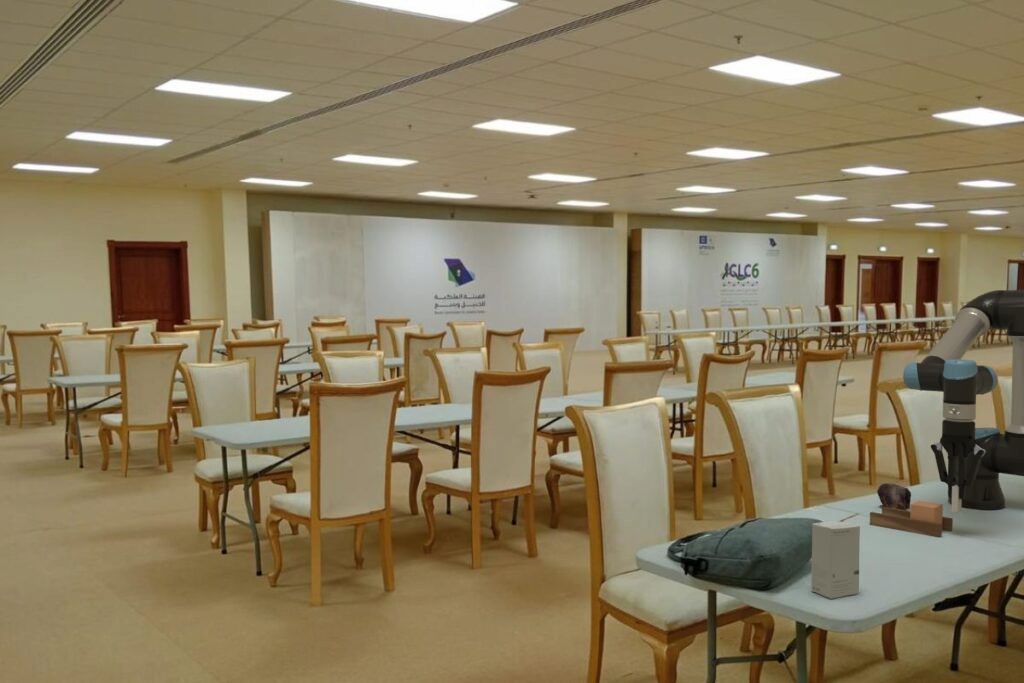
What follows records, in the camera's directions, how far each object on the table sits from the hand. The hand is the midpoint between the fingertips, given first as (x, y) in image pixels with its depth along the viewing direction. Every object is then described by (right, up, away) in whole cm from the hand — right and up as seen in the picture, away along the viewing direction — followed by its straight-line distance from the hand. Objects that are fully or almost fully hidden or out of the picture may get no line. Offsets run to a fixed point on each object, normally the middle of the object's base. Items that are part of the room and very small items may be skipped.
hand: (956, 511), depth 221 cm
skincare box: (-46, -10, -38) cm, 60 cm away
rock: (-3, -7, +30) cm, 31 cm away
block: (-5, -6, +6) cm, 10 cm away
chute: (-11, -7, +12) cm, 17 cm away
